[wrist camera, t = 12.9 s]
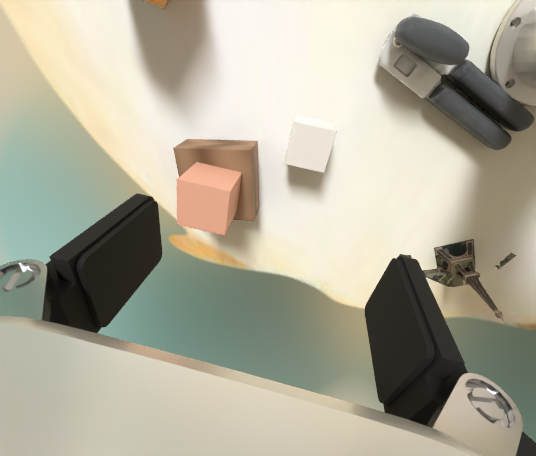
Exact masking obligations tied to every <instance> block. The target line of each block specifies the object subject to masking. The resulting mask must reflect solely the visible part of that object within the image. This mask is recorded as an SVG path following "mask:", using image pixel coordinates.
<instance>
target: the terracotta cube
mask: <svg viewBox="0 0 536 456" xmlns="http://www.w3.org/2000/svg"><path fill="white" fill-rule="evenodd" d="M241 176H242V172H238V171H233V170H229V169H225V168H220V167H216V166H212V165H207V164H203V163H199V162H196V163H195V164H194V165H193V166H192V167H191V168H189V169H188V170H187V171H186V172H185V173H184V174H182V175H181V176H180V177H179V178H178V179H177V224H178V225H182V226H186V227H190V228H195V229H199V230H203V231H207V232H212V233H216V234H220V235H224V236H225V234H226V232H227V230H228V228H229V226H230V224H231V222H232V220H233V218H234V216H235V214H236V212H237V205H238V198H239V191H240V184H241Z"/></svg>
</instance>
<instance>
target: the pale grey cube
mask: <svg viewBox="0 0 536 456" xmlns="http://www.w3.org/2000/svg"><path fill="white" fill-rule="evenodd" d="M336 133H337V130H336V127H335V125H334V123H332V122H328V121H323V120H319V119H314V118H310V117H305V116H300V115H296V114H295V118H294V122H293V127H292V131H291V136H290V140H289V145H288V149H287V154H286V158H285V163H284V164H287V165H291V166H296V167H300V168H305V169H309V170H314V171H318V172H323V173H324V171H325V168H326V165H327V162H328V159H329V155H330V152H331V149H332V146H333V143H334V139H335V136H336Z"/></svg>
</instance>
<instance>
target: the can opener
mask: <svg viewBox="0 0 536 456" xmlns="http://www.w3.org/2000/svg"><path fill="white" fill-rule="evenodd" d="M468 52H469V45H468V43H467V42H466V41H465V40H464V39H463V38H462V37H461V36H460V35H459V34H458V33H456V32H455V31H453V30H452V29H450V28H449V27H447V26H445V25H442V24H440V23H437V22H434V21H431V20H428V19H424V18H421V17H420V16H419V15H418V14H416V13H414V14H411V15H410V16H408V17H407V18H405V19H403V20H402V21H401V22H400V23H399V24H398V25H397V27H396V28H395V29H394V30H393V31H392V33H390V34H389V36H388V38H387V40H386V42H385V44H384V46H383V48H382V51H381V54H380V61H379V65H380V66H381V67H383V68H384V69H385V70H386V71H388V72H389V73H390V74H391V75H393V76H394V77H395V78H396V79H398V80H399V81H400V82H402V83H403V84H404V85H405V86H407V87H408V88H409V89H411V90H412V91H413V92H414V93H416V94H417V95H418V96H419V97H421V98H422V99H423V98H424V97H425V98H427V99H428V100H429V101H430V102H431V103H432V104H433V105H435V106H436V107H437V108H439V109H440V110H441V111H442V112H444V113H445V114H446V115H448V116H449V117H450V118H451V119H453V120H454V121H455V122H457V123H458V124H459V125H460V126H462V127H463V128H464V129H466V130H467V131H468V132H470V133H471V134H472V135H473V136H475V137H476V138H477V139H479V140H480V141H481V142H483V143H484V144H485V145H486V146H488V147H490V148H492V149H494V150H500V149H503V148H505V147H506V146H507V145H508V144H509V143H510V142H511V136H510V135H509V134H508V133H507V132H506V131H504V130H503V129H502V128H501V127H499V126H498V125H497V124H496V123H495V122H493V121H492V120H491V119H490V118H488V117H487V116H486V115H485V114H483V113H482V112H481V111H480V110H478V109H477V108H476V107H475V106H473V105H472V104H471V103H470V102H468V101H467V100H466V99H465V98H463V97H462V96H461V95H460V94H458V93H457V92H456V91H455V90H454V89H452V88H451V87H450V86H448V85H445V84H443V83H441V81H440V80H441V75H445V76H446V77H447V79H448V80H450V81H451V82H452V83H453V84H454V85H456V86H457V87H458V88H459V89H460V90H462V91H463V92H464V93H465V94H466V95H468V96H469V97H470V98H471V99H472V100H474V101H475V102H476V103H477V104H478V105H480V106H481V107H482V108H483V109H484V110H486V111H487V112H488V113H489V114H490V115H491V116H492V117H494V118H495V119H496V120H497V121H498V122H500V123H501V124H502V125H503V126H505V127H506V128H508V129H510V130H513V131H522V130H525V129H526V128H528V127H529V126H530V125H531V124H532V122H533V120H534V117H533V115H532V114H531V113H529V112H528V111H527V110H526V109H525V108H524V107H522V106H521V105H520V104H519V103H518V102H517V101H516V100H514V99H513V98H512V97H511V96H510V95H509V94H507V93H506V92H505V91H504V90H503V89H502V88H500V87H499V86H498V85H497V84H496V83H495V82H493V81H492V80H491V79H490V78H489V77H488V76H487V75H486V74H484V73H483V72H482V71H481V70H480V69H479V68H477V67H476V66H475V65H474V64H473V63H472V62H470V61H469V60H465V58H466V57H467V55H468Z"/></svg>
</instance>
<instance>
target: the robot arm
mask: <svg viewBox="0 0 536 456" xmlns="http://www.w3.org/2000/svg"><path fill="white" fill-rule="evenodd" d="M511 21H512V25H511V26H510V24H511ZM490 70H491V77H492V80H493V82H495V83H496V84H497V85H498V86H499V87H500V88H502V89H503V90H504V91H505V92H506V93H507V94H509V95H510V96H511V97H512V98H513V99H514V100H516V101H517V102H518V103H519V104H525V105H536V0H517V1H516V2H515V3H514V4H513V6H512V7H511V8H510V10H509V11H508V13H507V15H506V16H505V18H504V20H503V22H502V23H501V25H500V27H499V29H498V32H497V34H496V37H495V39H494V42H493V47H492V51H491V57H490ZM506 82H507V84H506ZM505 84H506V85H505ZM161 257H162V245H161V234H160V223H159V212H158V204H157V202H156V201H154V199H153V197H150V196H146V195H142V194H136V195H134V196H133V197H131V198H130V199H128V200H127V201H126V202H124V203H123V204H122V205H120V206H119V207H117V208H116V209H114V210H113V211H112V212H110V213H109V214H108V215H106V216H105V217H103V218H102V219H101V220H99V221H98V222H96V223H95V224H94V225H92V226H91V227H90V228H88V229H87V230H85V231H84V232H83V233H81V234H80V235H79V236H77V237H76V238H74V239H73V240H72V241H70V242H69V243H68V244H66V245H65V246H63V247H62V248H61V249H59V250H58V251H56V252H55V253H54V254H52V255H51V256H50V259H51V261H50V262H48V263H47V264H46V265H45V264H44V263H43V262H41V261H39V260H32V259H25V260H17V261H13V262H9V263H7V264H4V265H2V266H0V456H536V443H535V442H534V441H533V440H532V439H531V438H529V437H528V436H527V435H526V434H525V433H524V432H523V431H522V430H523V420H522V417H521V415H520V412H519V410H518V409H517V407H516V406H515V404H514V402H513V401H512V400H511V398H510V397H509V396H508V395H507V394H506V393H505V392H504V391H503V390H502V389H501V388H500V387H499V386H498V385H496V384H495V383H493V382H492V381H490V380H489V379H487V378H485V377H483V376H481V375H479V374H473V373H468V372H467V370H466V368H465V365H464V364H465V363H464V361H463V359H462V356H461V354H460V352H459V350H458V348H457V346H456V344H455V341H454V339H453V337H452V335H451V332H450V330H449V328H448V326H447V324H446V322H445V319H444V317H443V315H442V313H441V311H440V308H439V306H438V304H437V302H436V300H435V297H434V295H433V293H432V291H431V289H430V287H429V284H428V282H427V280H426V278H425V276H424V274H423V271H422V269H421V267H420V265H419V263H418V261H417V260H416V259H412V258H408V257H404V256H399V257H397V259H396V258H393V259H392V260H391V262H390V263H389V265H388V267H387V269H386V270H385V272H384V274H383V276H382V277H381V279H380V281H379V283H378V284H377V286H376V288H375V290H374V291H373V293H372V295H371V297H370V298H369V300H368V302H367V304H366V306H365V317H366V324H367V330H368V336H369V343H370V349H371V355H372V362H373V368H374V374H375V381H376V387H377V393H378V399H379V401H380V402H381V403H383V404H384V410H385V413H384V412H381V411H377V410H374V409H371V408H367V407H364V406H361V405H357V404H354V403H351V402H346V401H343V400H340V399H336V398H332V397H329V396H325V395H322V394H318V393H314V392H311V391H307V390H304V389H300V388H297V387H293V386H289V385H286V384H282V383H279V382H275V381H272V380H268V379H264V378H261V377H257V376H253V375H250V374H246V373H242V372H239V371H235V370H231V369H228V368H224V367H220V366H217V365H213V364H209V363H206V362H202V361H198V360H195V359H191V358H187V357H184V356H180V355H176V354H172V353H169V352H165V351H161V350H158V349H154V348H150V347H146V346H143V345H139V344H135V343H132V342H128V341H124V340H120V339H117V338H113V337H109V336H105V335H102V334H97V332H98V331H99V330H100V329H101V327H106V326H107V325H108V324H109V323H110V322H111V321H112V319H113V318H114V317H115V316H116V314H117V313H118V312H119V311H120V310H121V308H122V307H123V306H124V305H125V303H126V302H127V301H128V300H129V298H130V297H131V296H132V295H133V293H134V292H135V291H136V290H137V288H138V287H139V286H140V285H141V283H142V282H143V281H144V280H145V279H146V277H147V276H148V275H149V274H150V272H151V271H152V270H153V269H154V268H155V266H156V265H157V264H158V263H159V261H160V259H161Z"/></svg>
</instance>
